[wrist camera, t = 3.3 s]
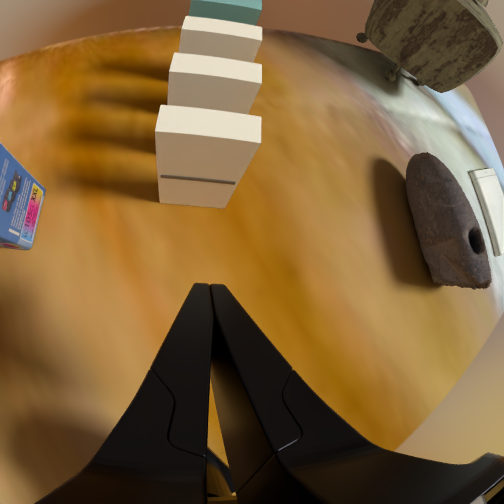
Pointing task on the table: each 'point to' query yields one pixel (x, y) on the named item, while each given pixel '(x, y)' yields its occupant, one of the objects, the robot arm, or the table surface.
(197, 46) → the domino
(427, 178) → the perforated stone tool
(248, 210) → the table surface
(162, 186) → the domino
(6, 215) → the ink cartridge box
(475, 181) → the hard drive
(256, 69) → the domino
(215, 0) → the domino
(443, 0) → the tabletop clock
